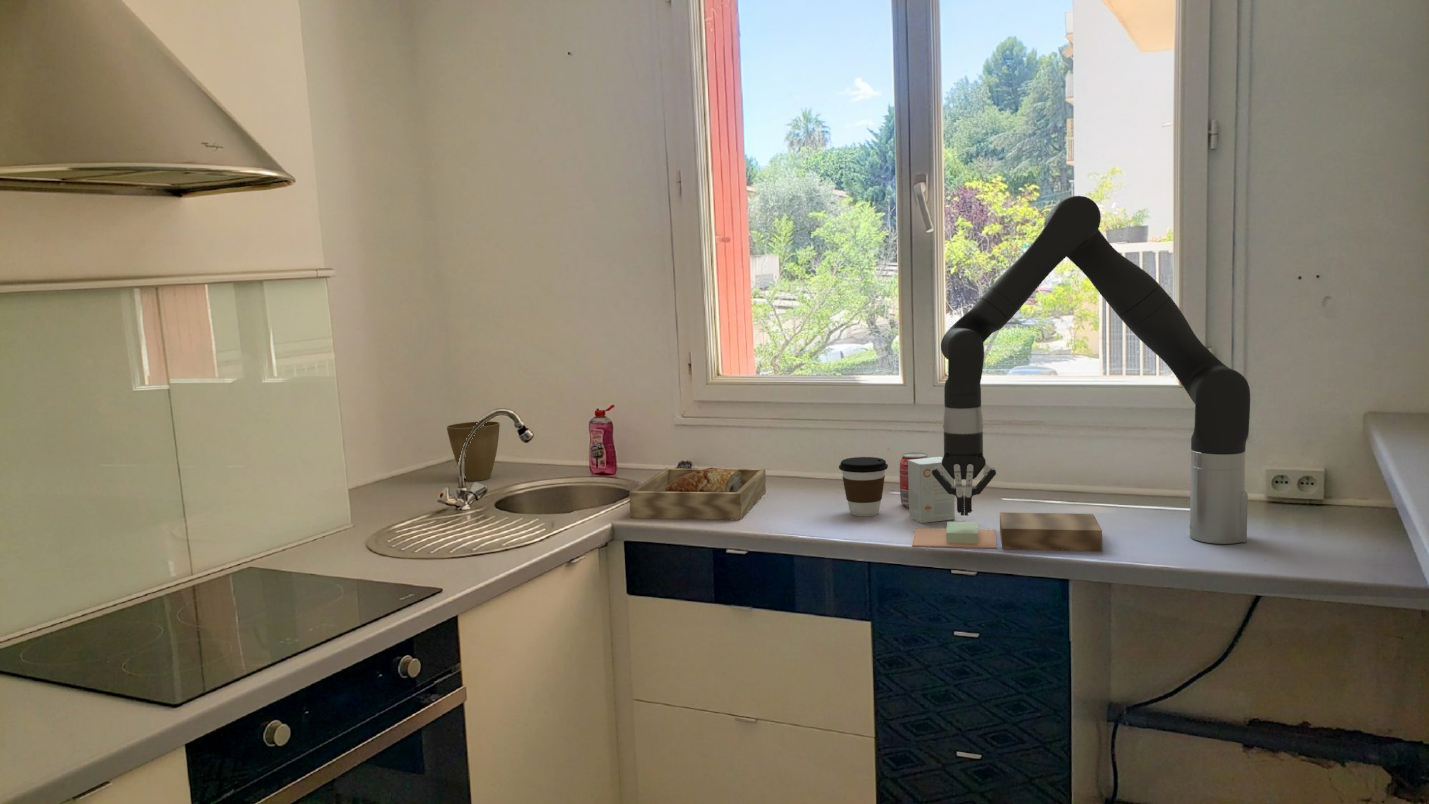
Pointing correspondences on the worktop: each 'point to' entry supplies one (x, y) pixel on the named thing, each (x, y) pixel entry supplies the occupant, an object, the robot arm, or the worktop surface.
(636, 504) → the bread crate
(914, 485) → the small box
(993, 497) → the worktop surface
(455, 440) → the plant pot
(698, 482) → the bread
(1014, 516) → the board
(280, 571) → the worktop surface
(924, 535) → the mat
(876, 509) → the coffee cup
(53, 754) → the worktop surface
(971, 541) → the pale green foam block
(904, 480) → the soda can
